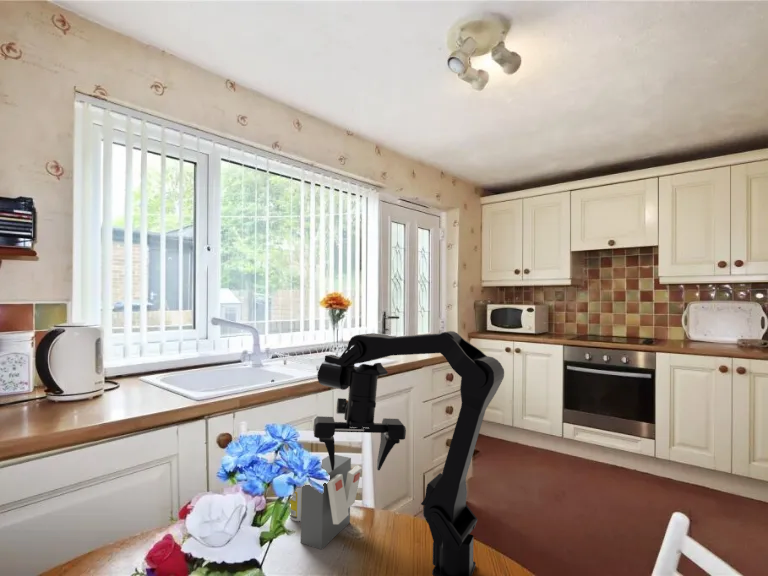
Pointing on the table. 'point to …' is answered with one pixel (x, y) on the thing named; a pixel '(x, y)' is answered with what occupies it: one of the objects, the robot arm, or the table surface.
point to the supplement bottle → (296, 505)
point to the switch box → (322, 508)
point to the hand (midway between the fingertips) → (355, 469)
